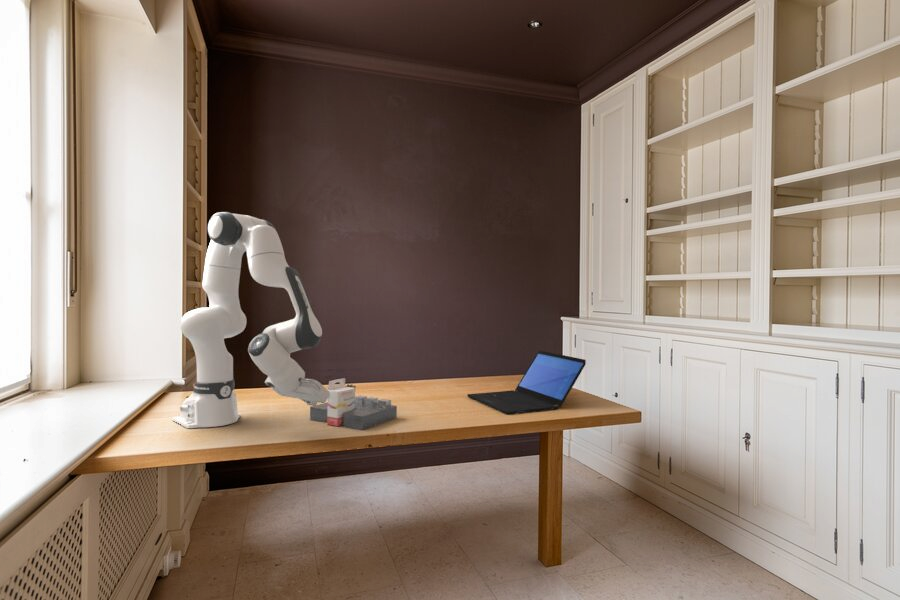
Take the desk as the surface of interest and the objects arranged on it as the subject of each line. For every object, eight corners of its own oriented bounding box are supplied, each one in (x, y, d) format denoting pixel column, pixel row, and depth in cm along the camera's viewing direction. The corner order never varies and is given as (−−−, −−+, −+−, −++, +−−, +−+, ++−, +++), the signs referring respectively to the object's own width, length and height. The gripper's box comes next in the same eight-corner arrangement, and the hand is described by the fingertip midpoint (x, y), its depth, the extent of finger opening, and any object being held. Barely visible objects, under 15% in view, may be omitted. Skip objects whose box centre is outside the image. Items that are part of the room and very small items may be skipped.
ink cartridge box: (337, 427, 159) (338, 382, 159) (326, 424, 162) (327, 381, 162) (355, 421, 167) (355, 378, 167) (344, 419, 169) (344, 377, 169)
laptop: (466, 398, 208) (466, 353, 208) (539, 392, 223) (539, 350, 223) (506, 416, 177) (506, 363, 177) (587, 407, 193) (588, 359, 193)
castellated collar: (310, 419, 168) (310, 401, 168) (346, 409, 184) (346, 392, 183) (362, 430, 156) (362, 410, 156) (396, 418, 171) (396, 400, 171)
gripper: (319, 372, 142) (342, 399, 150) (272, 366, 152) (296, 391, 161) (307, 389, 138) (331, 417, 146) (260, 382, 148) (285, 407, 157)
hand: (313, 403), depth 154 cm, fingers closed
